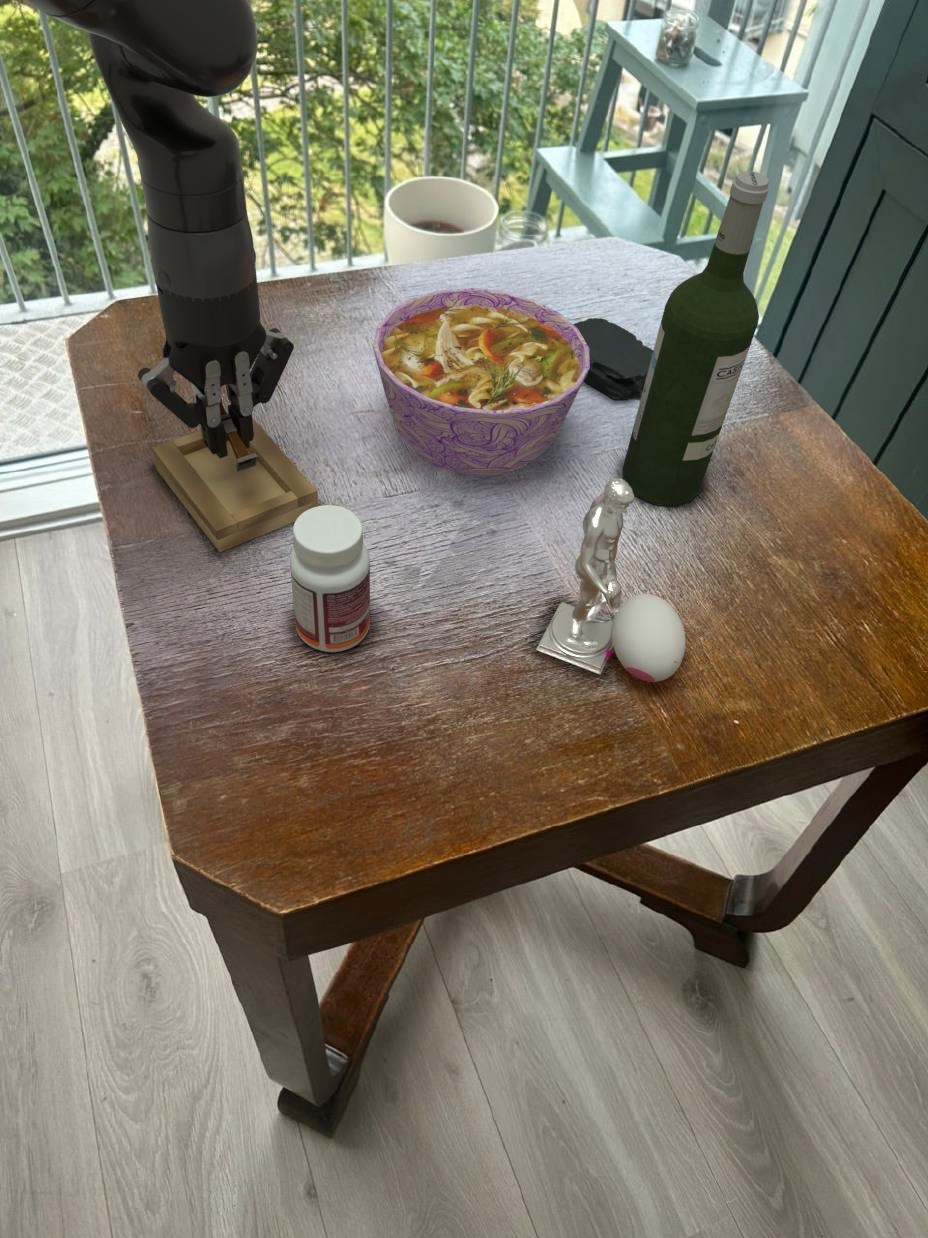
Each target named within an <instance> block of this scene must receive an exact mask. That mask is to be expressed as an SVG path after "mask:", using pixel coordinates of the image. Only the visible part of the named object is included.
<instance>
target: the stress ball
mask: <svg viewBox="0 0 928 1238" xmlns="http://www.w3.org/2000/svg"><path fill="white" fill-rule="evenodd" d="M663 596H664V595H662V596H661V597H659V596H658V595H655V594H651V593H638V594H634V595H632V596H630V597H628V598H627V599H625V600H623V603H620V605H619V607H620V609H619V608H618V609H619V610H620V611H618V610H617V611H618V612H619V613H617V612H616V614H615V613H614V616H613V620H612V621H613V624H612V642H613V649H612V650H611V651H609V650H607V660H609V659H610V657H611V656H612V654H613V653H615V655H616V657H617V659H618V661H619V663H620V664H621V665H622V666H623V668H624V669H625V670H626V671H627V672H628V673H629V674H631V675H632V676H634V677H635V678H637V679H639V680H641V681H644V682H650V683H655V682H656V683H658V682H661V681H665V680H667V679H668V678H670V677H671V676H673V675H674V674H675V673H676V672H677V671H678V669H679V668H680V666H681V665H682V663H683V660H684V657H685V653H686V644H687V643H686V641H687V640H686V633H685V629H684V625H683V622H682V620H681V618H680V616H679V615H678V613H677V611H676V610H675V609H674V607H672V606H671V604H670V603H669V602H668V601H666V600H665V599H663Z"/></svg>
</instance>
